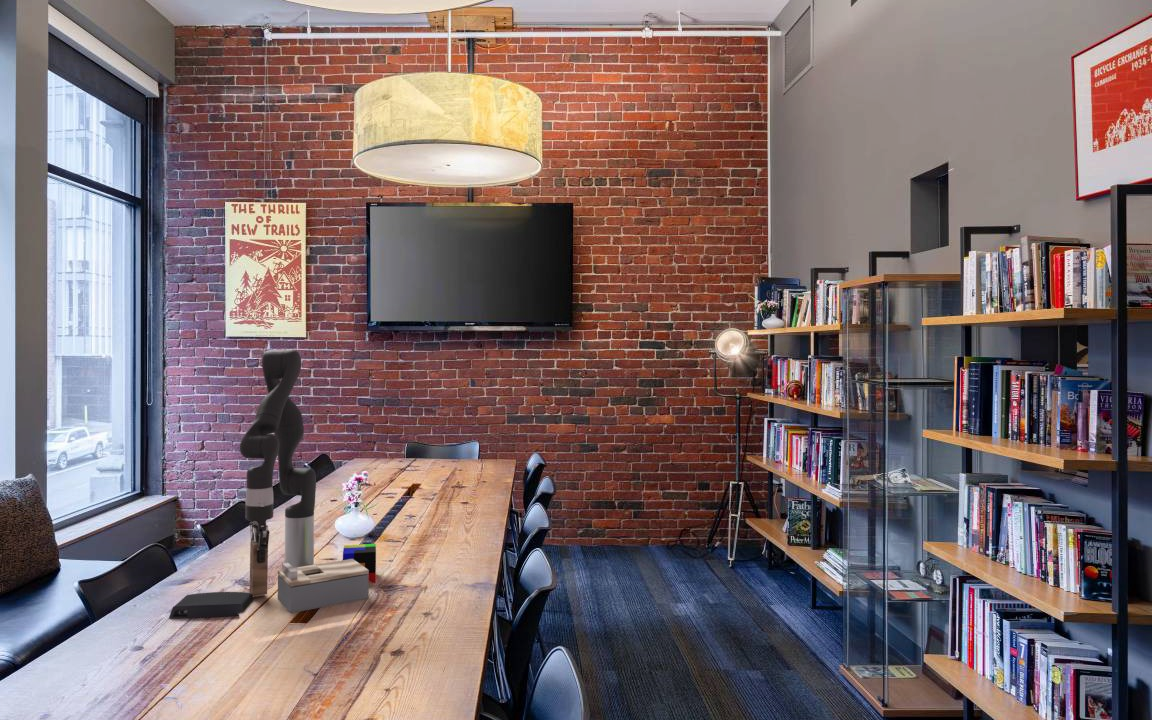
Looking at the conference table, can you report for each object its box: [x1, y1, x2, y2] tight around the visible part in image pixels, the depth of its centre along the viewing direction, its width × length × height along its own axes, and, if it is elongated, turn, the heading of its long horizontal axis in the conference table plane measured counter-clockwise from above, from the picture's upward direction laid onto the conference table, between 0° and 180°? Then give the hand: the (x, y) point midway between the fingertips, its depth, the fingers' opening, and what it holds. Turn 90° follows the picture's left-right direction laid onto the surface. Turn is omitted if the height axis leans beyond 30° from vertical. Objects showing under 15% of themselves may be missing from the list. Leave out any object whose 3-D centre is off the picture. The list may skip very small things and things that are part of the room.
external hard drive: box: [168, 591, 254, 620], centre depth 210 cm, size 13×19×4 cm
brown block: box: [249, 541, 269, 597], centre depth 218 cm, size 4×4×15 cm
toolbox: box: [277, 572, 370, 614], centre depth 218 cm, size 14×22×8 cm, turn 125°
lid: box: [277, 559, 369, 587], centre depth 217 cm, size 14×22×3 cm, turn 125°
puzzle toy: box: [342, 543, 377, 584], centre depth 239 cm, size 10×10×10 cm
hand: (259, 560), depth 218 cm, fingers closed on brown block, 4 cm apart
